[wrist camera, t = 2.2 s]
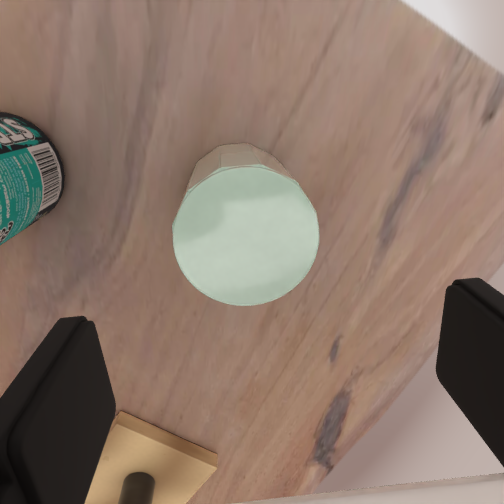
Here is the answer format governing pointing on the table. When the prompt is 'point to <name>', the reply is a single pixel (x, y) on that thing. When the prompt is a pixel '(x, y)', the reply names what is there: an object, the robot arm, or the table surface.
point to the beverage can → (26, 175)
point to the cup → (244, 227)
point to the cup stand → (148, 466)
